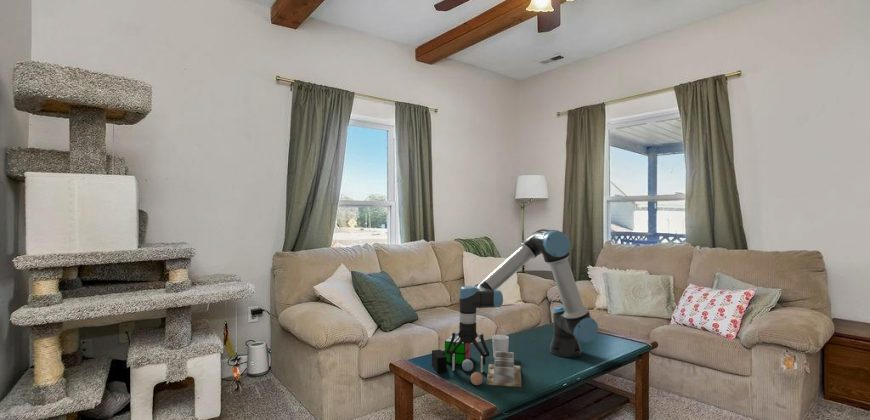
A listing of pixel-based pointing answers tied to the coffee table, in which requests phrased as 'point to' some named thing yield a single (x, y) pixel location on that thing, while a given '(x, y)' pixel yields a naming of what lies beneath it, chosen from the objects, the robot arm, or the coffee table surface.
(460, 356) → the puzzle cube
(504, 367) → the rack
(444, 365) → the digital camera
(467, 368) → the grey ball
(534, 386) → the coffee table surface
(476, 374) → the terracotta ball
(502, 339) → the white cup
